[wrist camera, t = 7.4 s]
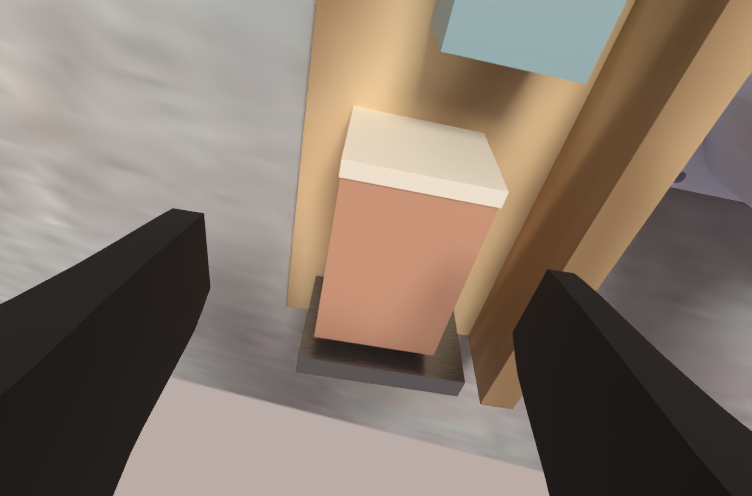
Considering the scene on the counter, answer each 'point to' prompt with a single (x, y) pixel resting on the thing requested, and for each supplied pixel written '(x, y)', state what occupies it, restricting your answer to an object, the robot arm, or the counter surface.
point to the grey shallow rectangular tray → (381, 359)
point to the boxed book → (405, 229)
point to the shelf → (524, 143)
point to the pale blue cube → (528, 33)
